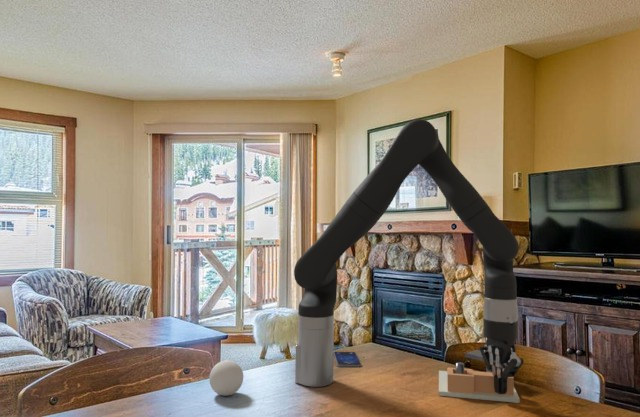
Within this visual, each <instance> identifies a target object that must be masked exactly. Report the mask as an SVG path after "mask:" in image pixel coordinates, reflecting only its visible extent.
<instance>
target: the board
mask: <svg viewBox="0 0 640 417" xmlns="http://www.w3.org/2000/svg"><path fill="white" fill-rule="evenodd" d="M438 396H440V397H441V396H442V397H452V398H464V399H473V400H483V401H493V402H495V401H496V402H505V403H515V404H520V397H519V394H518V392H517V390H516V387H514V395H506V394H495V393H483V392H474V394H471V393H460V392H449V391H448V387H447V370H438Z"/></svg>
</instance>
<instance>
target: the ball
mask: <svg viewBox="0 0 640 417" xmlns="http://www.w3.org/2000/svg"><path fill="white" fill-rule="evenodd" d="M208 377H209V378H208V380H209V381H208V382H209V385H210V387H211V389H212V390H213V392H214V393H216V394H217V395H219V396H224V397H227V396H231V395H234V394H235V393H237V392H238V391H239V389H240V388H241V387H242V385H243V382H244V372H243V370H242V367H241V366H240V365H239V364H238V363H237V362H236V361H233V360H230V359H229V360H228V359H225V360H221V361H219V362H218V363H217V364H215V365H213V367H212V369H211V371H210V373H209V376H208Z"/></svg>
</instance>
